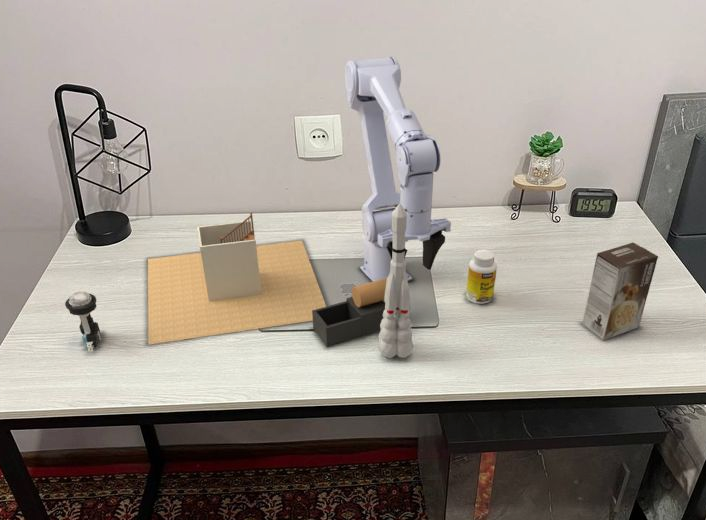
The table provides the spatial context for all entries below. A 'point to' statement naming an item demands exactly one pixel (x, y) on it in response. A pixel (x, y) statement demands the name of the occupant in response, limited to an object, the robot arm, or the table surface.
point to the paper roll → (369, 293)
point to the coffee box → (619, 290)
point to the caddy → (347, 321)
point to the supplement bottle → (481, 277)
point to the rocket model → (397, 296)
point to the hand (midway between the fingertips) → (413, 270)
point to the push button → (85, 316)
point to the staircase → (230, 286)
